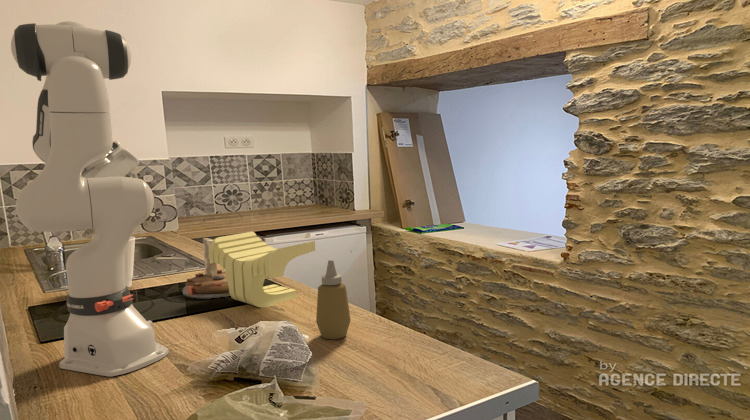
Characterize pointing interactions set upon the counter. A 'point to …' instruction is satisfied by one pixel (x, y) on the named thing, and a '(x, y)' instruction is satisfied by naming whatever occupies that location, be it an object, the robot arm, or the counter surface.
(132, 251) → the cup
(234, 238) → the slatted curved stool
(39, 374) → the counter surface
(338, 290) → the squeeze bottle
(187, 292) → the base plate
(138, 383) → the counter surface
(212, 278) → the brown piece
